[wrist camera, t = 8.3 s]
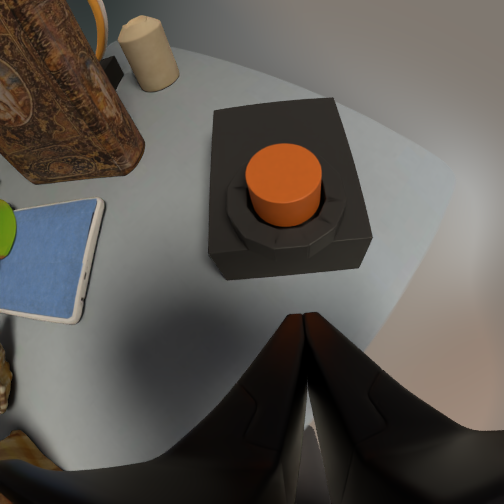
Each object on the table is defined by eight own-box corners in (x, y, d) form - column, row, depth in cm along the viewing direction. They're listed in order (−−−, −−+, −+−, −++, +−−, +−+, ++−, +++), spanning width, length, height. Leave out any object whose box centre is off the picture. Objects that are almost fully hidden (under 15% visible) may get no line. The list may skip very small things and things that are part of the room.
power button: (324, 224, 17) (327, 199, 15) (253, 230, 18) (246, 207, 16) (314, 167, 19) (315, 139, 17) (250, 174, 19) (243, 147, 17)
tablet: (109, 200, 29) (102, 193, 28) (82, 327, 24) (73, 324, 23) (0, 217, 32) (-6, 212, 30) (-25, 308, 27) (-32, 305, 26)
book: (150, 135, 32) (48, -61, 9) (135, 174, 30) (1, -36, 7) (49, 151, 35) (-52, 22, 12) (33, 185, 33) (-85, 56, 10)
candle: (179, 85, 35) (154, 21, 26) (139, 97, 36) (108, 38, 26) (180, 64, 37) (159, 6, 28) (143, 75, 38) (118, 20, 29)
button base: (361, 280, 22) (382, 239, 16) (226, 292, 24) (198, 256, 17) (331, 138, 28) (334, 80, 22) (226, 149, 29) (208, 94, 23)
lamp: (40, 131, 37) (-64, -13, 9) (62, 93, 41) (-21, -41, 12) (128, 105, 35) (25, -96, 6) (147, 67, 38) (70, -108, 10)
